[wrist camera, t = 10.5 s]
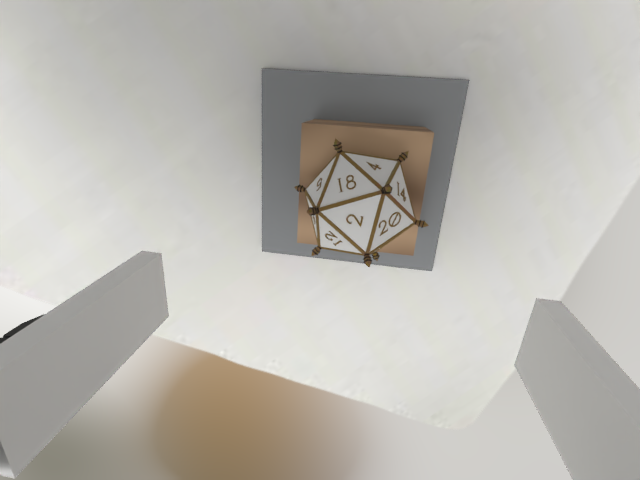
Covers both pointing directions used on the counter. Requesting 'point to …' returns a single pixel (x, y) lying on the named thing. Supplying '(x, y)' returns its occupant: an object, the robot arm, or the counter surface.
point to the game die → (359, 203)
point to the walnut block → (370, 142)
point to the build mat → (355, 106)
